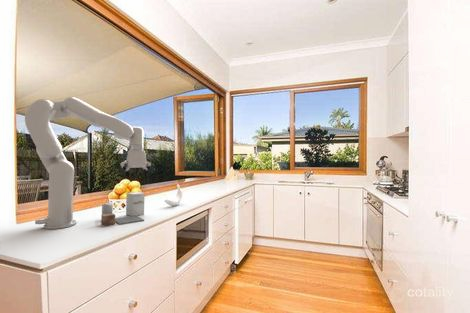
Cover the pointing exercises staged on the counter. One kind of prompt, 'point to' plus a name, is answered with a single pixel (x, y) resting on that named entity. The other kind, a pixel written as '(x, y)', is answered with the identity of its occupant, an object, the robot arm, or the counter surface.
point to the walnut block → (108, 219)
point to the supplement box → (135, 204)
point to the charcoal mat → (128, 219)
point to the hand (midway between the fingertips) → (136, 177)
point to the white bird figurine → (177, 199)
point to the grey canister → (107, 208)
